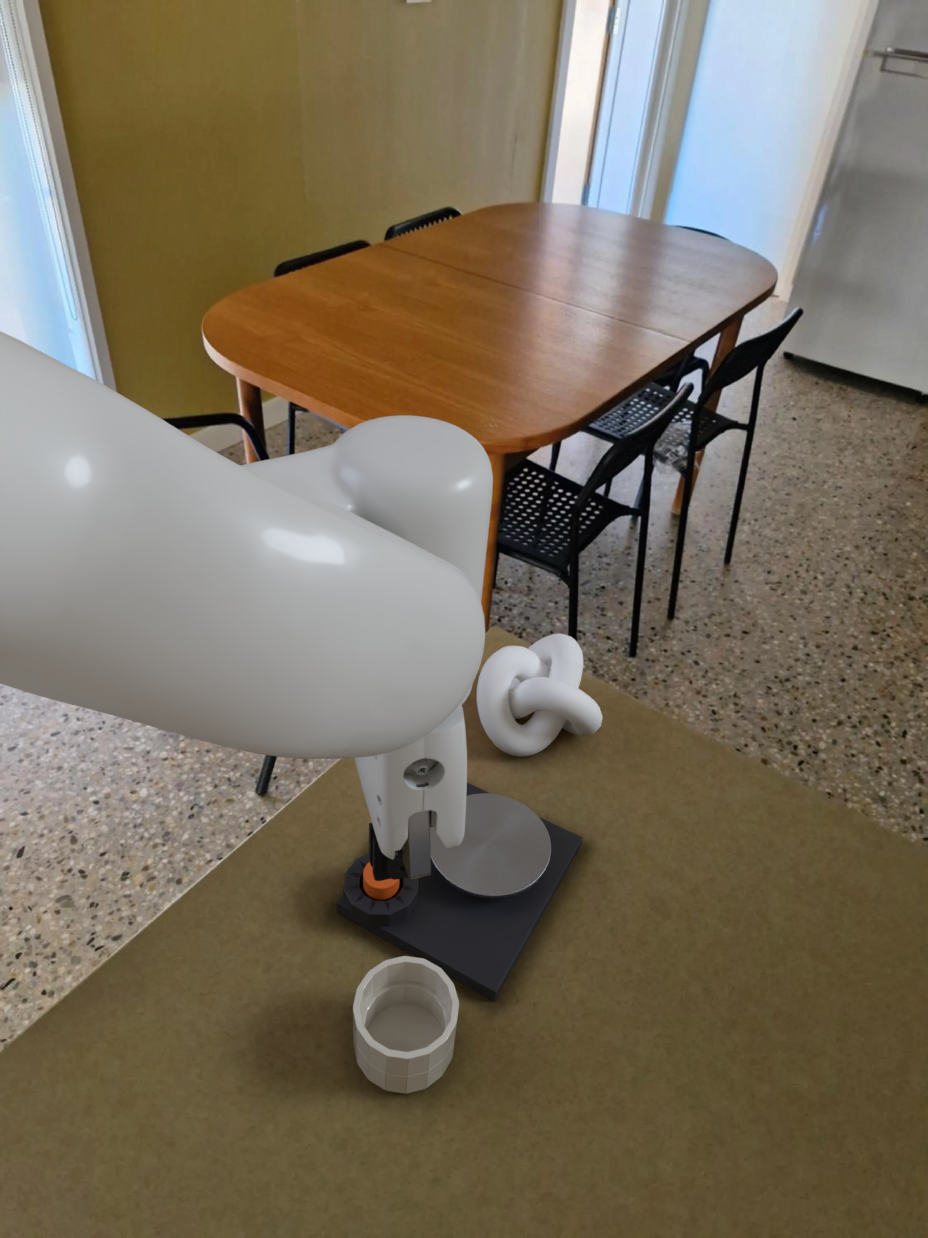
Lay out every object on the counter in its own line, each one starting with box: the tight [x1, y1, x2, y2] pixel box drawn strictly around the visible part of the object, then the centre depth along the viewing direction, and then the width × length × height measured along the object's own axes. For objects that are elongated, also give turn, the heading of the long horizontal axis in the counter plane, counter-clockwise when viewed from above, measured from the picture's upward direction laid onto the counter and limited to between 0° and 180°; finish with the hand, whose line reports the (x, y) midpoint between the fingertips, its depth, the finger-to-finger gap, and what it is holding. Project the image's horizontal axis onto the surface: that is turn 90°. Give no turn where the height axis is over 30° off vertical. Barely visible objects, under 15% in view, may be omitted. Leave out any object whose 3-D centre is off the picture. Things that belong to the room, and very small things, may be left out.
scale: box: [336, 782, 584, 1002], centre depth 72 cm, size 16×14×3 cm
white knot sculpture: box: [476, 632, 603, 758], centre depth 84 cm, size 11×12×9 cm
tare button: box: [363, 862, 400, 900], centre depth 68 cm, size 3×3×2 cm
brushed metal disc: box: [430, 792, 551, 898], centre depth 72 cm, size 10×10×1 cm
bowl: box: [352, 955, 460, 1095], centre depth 60 cm, size 7×7×6 cm
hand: (395, 866), depth 57 cm, fingers closed
